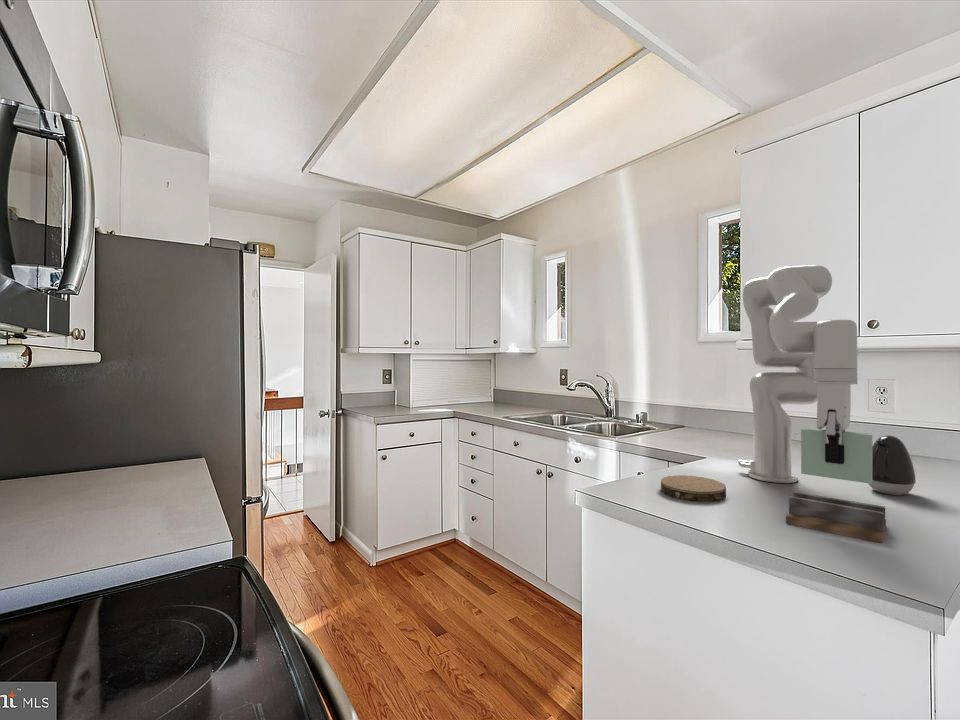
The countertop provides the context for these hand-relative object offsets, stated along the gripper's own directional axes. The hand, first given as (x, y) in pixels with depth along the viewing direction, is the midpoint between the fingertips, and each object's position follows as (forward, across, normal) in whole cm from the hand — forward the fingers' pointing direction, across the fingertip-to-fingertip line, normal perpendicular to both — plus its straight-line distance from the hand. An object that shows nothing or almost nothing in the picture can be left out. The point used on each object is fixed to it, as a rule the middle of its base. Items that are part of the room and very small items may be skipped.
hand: (835, 461), depth 100 cm
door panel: (+4, 0, 0) cm, 4 cm away
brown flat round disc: (+14, -3, -31) cm, 35 cm away
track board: (+14, 0, 0) cm, 14 cm away
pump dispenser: (+14, -38, +7) cm, 41 cm away
